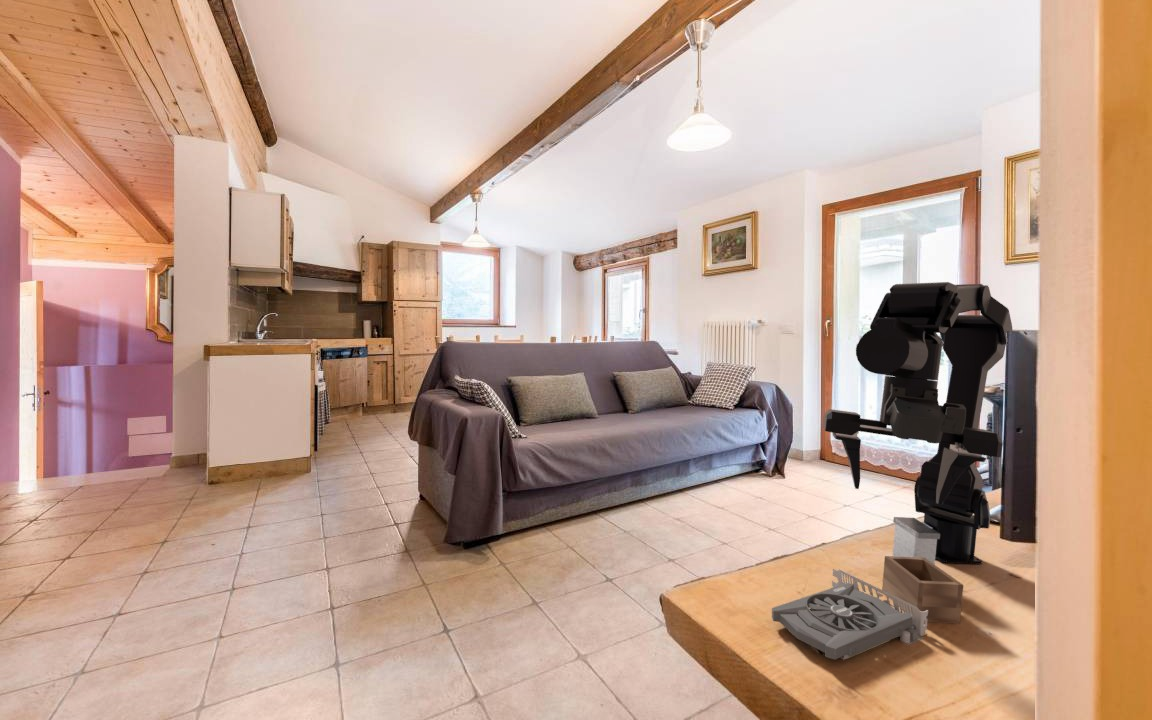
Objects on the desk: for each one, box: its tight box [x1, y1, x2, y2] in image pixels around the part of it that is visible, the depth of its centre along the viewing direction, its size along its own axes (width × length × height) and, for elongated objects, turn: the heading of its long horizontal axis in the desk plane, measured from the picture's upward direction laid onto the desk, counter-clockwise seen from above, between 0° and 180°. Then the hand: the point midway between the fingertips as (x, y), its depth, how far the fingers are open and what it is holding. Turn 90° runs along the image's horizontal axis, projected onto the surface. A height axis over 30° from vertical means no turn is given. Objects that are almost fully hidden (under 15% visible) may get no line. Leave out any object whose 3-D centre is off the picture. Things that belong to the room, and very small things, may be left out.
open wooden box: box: [881, 555, 964, 624], centre depth 63 cm, size 5×7×5 cm
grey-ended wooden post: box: [892, 516, 940, 565], centre depth 70 cm, size 6×3×8 cm, turn 178°
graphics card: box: [771, 568, 928, 661], centre depth 59 cm, size 17×4×12 cm
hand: (896, 495), depth 63 cm, fingers open, 9 cm apart
